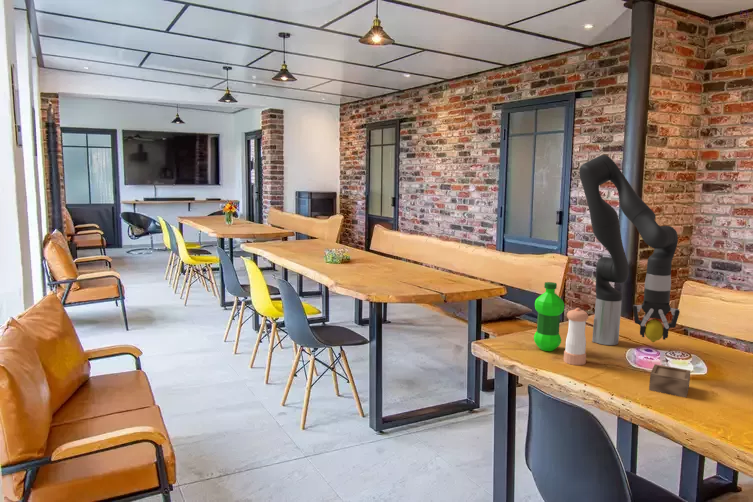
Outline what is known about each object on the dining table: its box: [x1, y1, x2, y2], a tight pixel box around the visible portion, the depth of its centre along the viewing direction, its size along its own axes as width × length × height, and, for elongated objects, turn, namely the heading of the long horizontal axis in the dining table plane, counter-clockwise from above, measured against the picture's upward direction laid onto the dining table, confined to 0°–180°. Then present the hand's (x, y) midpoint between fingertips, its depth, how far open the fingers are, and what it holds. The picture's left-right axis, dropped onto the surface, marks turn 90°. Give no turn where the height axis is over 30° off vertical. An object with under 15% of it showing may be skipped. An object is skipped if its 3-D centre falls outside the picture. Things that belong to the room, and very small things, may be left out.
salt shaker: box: [563, 307, 589, 366], centre depth 193 cm, size 7×7×19 cm
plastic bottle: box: [533, 281, 565, 352], centre depth 206 cm, size 10×10×25 cm
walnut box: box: [648, 363, 692, 398], centre depth 171 cm, size 10×10×6 cm
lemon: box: [644, 318, 664, 343], centre depth 182 cm, size 6×6×8 cm
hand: (653, 337), depth 183 cm, fingers closed on lemon, 5 cm apart
